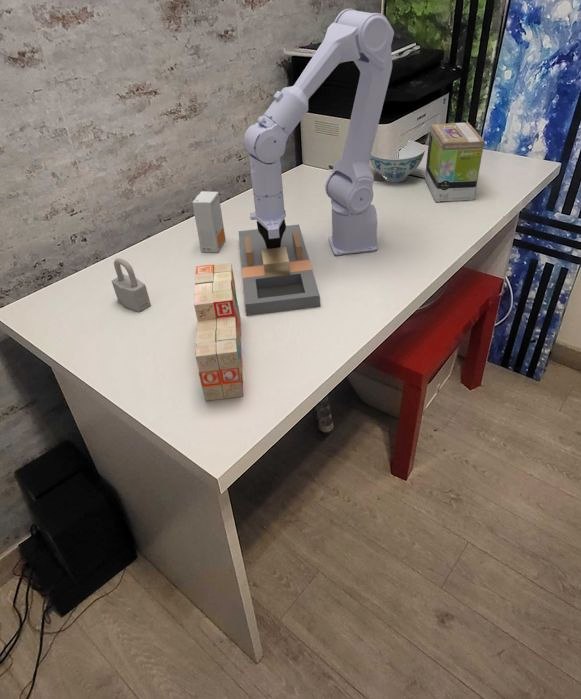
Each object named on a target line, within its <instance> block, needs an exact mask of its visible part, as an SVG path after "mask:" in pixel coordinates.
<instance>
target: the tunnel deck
mask: <svg viewBox="0 0 581 699" xmlns="http://www.w3.org/2000/svg"><path fill="white" fill-rule="evenodd" d="M238 242H239V250H240V251H239V254H240V263H241V273H242V276H241V277H242V286H243V296H244V307H245V313H246V314H245V315H246V316H254V315H262V314H263V315H264V314H270V313H277V312H286V311H287V312H288V311H295V310H302V309H303V310H304V309H311V308H318V307H321V298H320V297H321V295H320V292H319V288H318V284H317V282H316V278H315V274H314V270H313V267H312V265H311V262H310V258H309V254H308V250H307V247H306V243H305V240H304V238H303V234H302V230H301V227H300V224H291V225H286V229H285V232H284V234H283V236H282V240H281V247H286V250H287V254H288V258H289V265H290V275H284V276H275V277H267V278H265V273H264V266H263V259H262V250H263V249H267V247H266V244H265V241H264V239H263V237H262V236H261V234H260V233H259V231H258V228H256V229H246V230H240V231H238Z"/></svg>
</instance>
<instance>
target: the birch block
mask: <svg viewBox="0 0 581 699" xmlns="http://www.w3.org/2000/svg"><path fill="white" fill-rule="evenodd" d="M262 259H263V266H264V273H265V278H267V277H275V276H284V275H290V265H289V258H288V254H287V250H286V247H280V248H272V249H263V250H262Z"/></svg>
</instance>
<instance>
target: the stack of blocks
mask: <svg viewBox="0 0 581 699" xmlns="http://www.w3.org/2000/svg"><path fill="white" fill-rule="evenodd" d="M234 277H235V276H234V271H233V264H232V262H231V261H230V262H219V263H214V264H212V263H211V264H205V265H197V266H195V272H194V285H193V286H194V287H193V294H194V295H193V306H194V311H195V316H196V320H197V322H196V332H195V359H196V360H195V361H196V365H197V370H198V376H199V381H200V386H201V388H202V389H201V390H202V394H203V397H204V400H205V401H206V402H207V401H215V400H223V399H231V398H232V399H233V398H238V397H239V398H240V397H243V396H244V386H243V383H244V376H243V373H244V372H243V357H242V341H241V340H242V330H241V329H242V328H241V327H242V323H241V312H240V307H239V304H238V303H239V302H238V298H237V297H238V296H237V289H236V283H235V282H236V281H235V278H234Z"/></svg>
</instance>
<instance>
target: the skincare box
mask: <svg viewBox="0 0 581 699" xmlns="http://www.w3.org/2000/svg"><path fill="white" fill-rule="evenodd" d="M219 194H220V193H219V191H205V190H204V191H200V192H199V193H198V194H197V195H196V197H195V198H194V199H193V201H192V202H191V203H192V210H193V214H194V220H195V224H196V225H195V226H196V229H197V230H196V231H197V235H198V241H199V248H200V251H201V252H202V253H219V252H220V250H221V249H222V247H223V245H224V243H225V242H226V240H227V239H226V233H225V227H224V221H223V214H222V212H223V211H222V207H221V201H220V200H221V199H220V195H219Z"/></svg>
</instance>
